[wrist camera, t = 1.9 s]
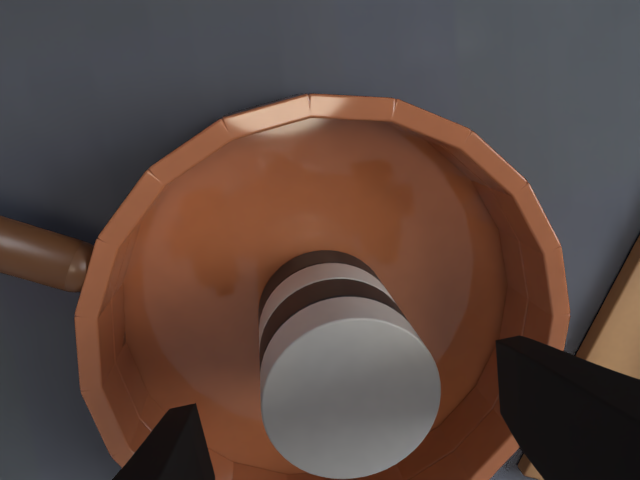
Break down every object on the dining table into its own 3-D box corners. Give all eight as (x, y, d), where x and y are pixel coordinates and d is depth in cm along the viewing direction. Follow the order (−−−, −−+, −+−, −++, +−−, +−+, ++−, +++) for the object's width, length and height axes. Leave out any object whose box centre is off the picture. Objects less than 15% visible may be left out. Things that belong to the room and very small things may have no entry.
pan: (584, 184, 18) (652, 203, 15) (422, 512, 21) (451, 584, 18) (182, 21, 15) (164, 1, 12) (59, 430, 18) (20, 499, 15)
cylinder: (405, 272, 18) (470, 347, 12) (357, 382, 19) (399, 496, 13) (284, 231, 17) (299, 295, 11) (240, 349, 18) (235, 457, 12)
